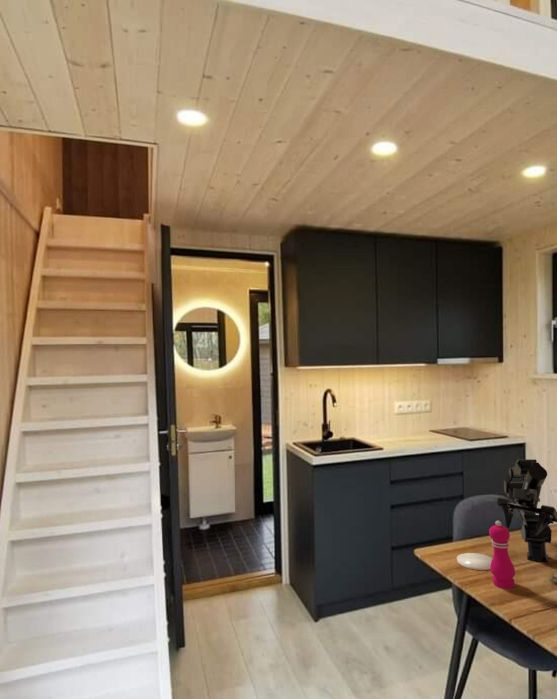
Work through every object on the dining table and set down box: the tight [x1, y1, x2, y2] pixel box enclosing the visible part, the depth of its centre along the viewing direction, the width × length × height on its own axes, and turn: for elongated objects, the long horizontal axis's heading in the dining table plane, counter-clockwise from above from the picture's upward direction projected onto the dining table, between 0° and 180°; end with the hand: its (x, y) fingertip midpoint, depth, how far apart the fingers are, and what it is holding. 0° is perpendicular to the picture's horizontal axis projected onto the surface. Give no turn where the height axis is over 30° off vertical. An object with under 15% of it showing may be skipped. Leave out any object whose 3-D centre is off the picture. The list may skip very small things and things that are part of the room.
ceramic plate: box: [456, 552, 493, 571], centre depth 155 cm, size 13×13×1 cm
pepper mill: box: [488, 520, 516, 590], centre depth 139 cm, size 7×7×20 cm
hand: (521, 531), depth 147 cm, fingers open, 9 cm apart
